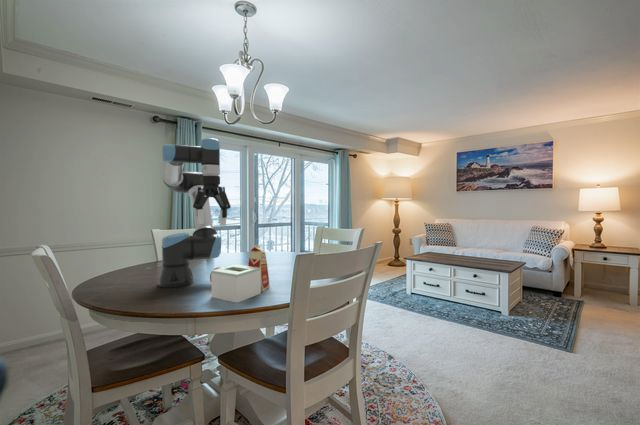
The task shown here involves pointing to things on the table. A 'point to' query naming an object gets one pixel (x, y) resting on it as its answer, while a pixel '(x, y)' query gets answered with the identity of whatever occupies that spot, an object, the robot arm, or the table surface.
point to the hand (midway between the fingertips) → (211, 225)
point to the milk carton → (260, 265)
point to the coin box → (236, 282)
